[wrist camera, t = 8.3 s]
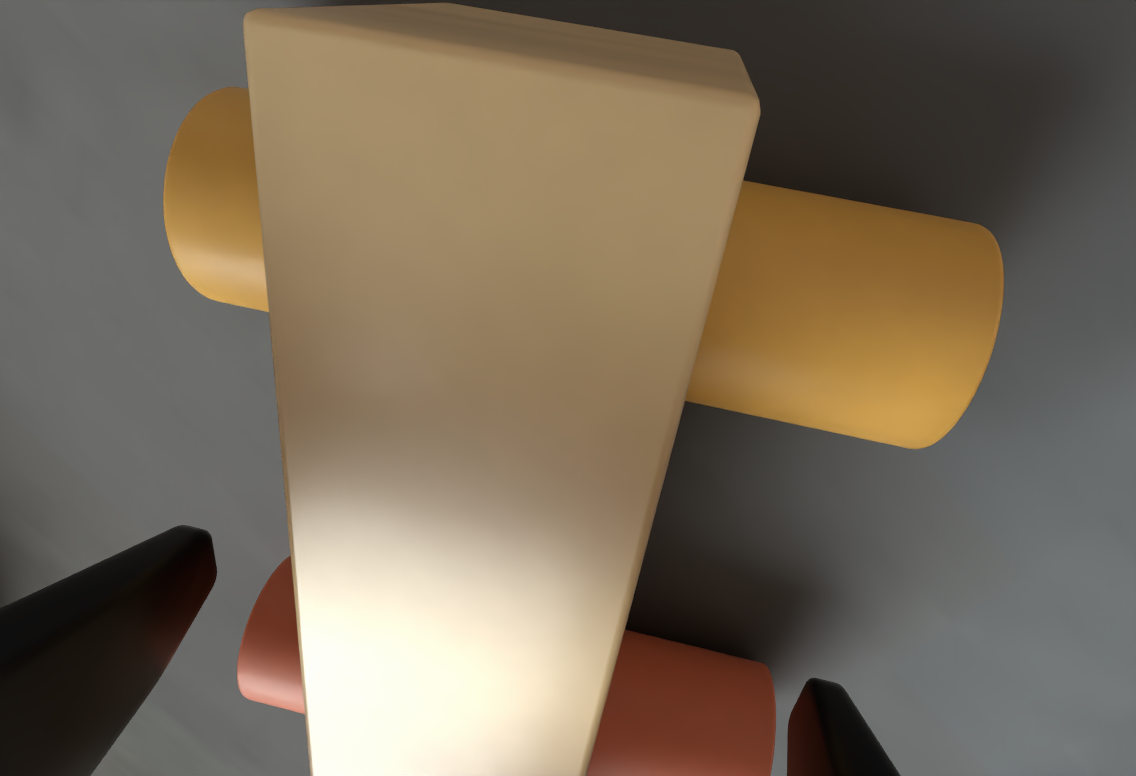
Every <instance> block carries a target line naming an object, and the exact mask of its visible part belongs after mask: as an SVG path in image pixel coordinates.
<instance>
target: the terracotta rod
mask: <svg viewBox="0 0 1136 776" xmlns="http://www.w3.org/2000/svg"><path fill="white" fill-rule="evenodd" d="M237 679H238V685H239V689H240V691H241V693H242V694H243V695H244V696H245V697H246V698H248V699H250V700H254V701H257V702H261V703H265V704H269V705H273V706H276V707H280V708H284V709H288V710H292V711H295V712H299V713H303V714H305V709H304V697H303V686H302V675H301V664H300V653H299V642H298V631H297V620H296V609H295V597H294V586H293V575H292V564H291V556H289V557H288V558H287V559H285V560H284V561H283V562H282V563H281V564H280V565H279V566H278V567H277V569H276V570H275V571H274V572H273V574H272V575H271V577H270V578H269V579H268V581H267V583H266V584H265V586H264V588H263V589H262V591H261V593H260V595H259V597H258V599H257V601H256V603H255V605H254V607H253V610H252V612H251V614H250V617H249V620H248V622H247V625H246V628H245V631H244V635H243V638H242V642H241V646H240V651H239V657H238V665H237ZM775 731H776V703H775V692H774V685H773V680H772V676H771V673H770V671H769V669H768V667H767V666H766V665H765V664H763V663H761V662H757V661H752V660H748V659H744V658H740V657H736V656H732V655H728V654H724V653H719V652H715V651H711V650H707V649H703V648H699V647H695V646H691V645H686V644H682V643H678V642H674V641H670V640H666V639H662V638H658V637H654V636H649V635H645V634H641V633H637V632H633V631H629V630H625V631H624V634H623V638H622V642H621V646H620V650H619V653H618V657H617V661H616V665H615V669H614V672H613V676H612V680H611V684H610V688H609V691H608V695H607V699H606V703H605V707H604V710H603V714H602V718H601V722H600V726H599V729H598V733H597V737H596V741H595V745H594V748H593V752H592V756H591V760H590V764H589V767H588V771H587V775H586V776H770V775H771V769H772V762H773V755H774V745H775Z"/></svg>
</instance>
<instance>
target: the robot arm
mask: <svg viewBox="0 0 1136 776" xmlns="http://www.w3.org/2000/svg"><path fill="white" fill-rule="evenodd" d="M216 576H217V567H216V561H215V555H214V548H213V542H212V537H211V535H210V534H209V532H208V531H206V530H203V529H199V528H195V527H191V526H186V525H180V526H177V527H174V528H172V529H170V530H167V531H165V532H163V533H161V534H159V535H157V536H155V537H152V538H150V539H148V540H146V541H144V542H142V543H140V544H137V545H135V546H133V547H131V548H129V549H127V550H125V551H122V552H120V553H118V554H116V555H114V556H112V557H110V558H107V559H105V560H103V561H101V562H99V563H97V564H95V565H92V566H90V567H88V568H86V569H84V570H82V571H80V572H77V573H75V574H73V575H71V576H69V577H67V578H65V579H62V580H60V581H58V582H56V583H54V584H52V585H50V586H47V587H45V588H43V589H41V590H39V591H37V592H35V593H32V594H30V595H28V596H26V597H24V598H22V599H19V600H17V601H15V602H13V603H11V604H9V605H7V606H4V607H2V608H0V776H90V775H91V774H92V773H93V771H94V770H95V769H96V767H97V766H98V764H99V763H100V762H101V760H102V759H103V757H104V756H105V755H106V753H107V752H108V750H109V749H110V748H111V746H112V745H113V744H114V742H115V741H116V739H117V738H118V737H119V735H120V734H121V732H122V731H123V730H124V728H125V727H126V725H127V724H128V723H129V721H130V720H131V718H132V717H133V716H134V714H135V713H136V712H137V710H138V709H139V707H140V706H141V705H142V703H143V702H144V700H145V699H146V698H147V696H148V695H149V693H150V692H151V690H152V689H153V687H154V686H155V685H156V683H157V682H158V680H159V678H160V677H161V675H162V674H163V672H164V670H165V669H166V667H167V665H168V664H169V662H170V660H171V658H172V657H173V655H174V653H175V652H176V650H177V648H178V646H179V645H180V643H181V641H182V639H183V638H184V636H185V634H186V633H187V631H188V629H189V627H190V626H191V624H192V622H193V620H194V619H195V617H196V615H197V614H198V612H199V610H200V608H201V607H202V605H203V603H204V601H205V600H206V598H207V596H208V595H209V593H210V591H211V589H212V587H213V586H214V583H215V580H216ZM787 776H900V774H899V773H898V771H897V770H896V768H895V766H894V765H893V763H892V762H891V760H890V759H889V757H888V756H887V754H886V753H885V751H884V749H883V748H882V746H881V745H880V743H879V742H878V740H877V739H876V737H875V736H874V734H873V732H872V731H871V729H870V728H869V726H868V725H867V723H866V722H865V720H864V718H863V717H862V715H861V714H860V712H859V711H858V709H857V708H856V706H855V705H854V703H853V701H852V700H851V698H850V697H849V695H848V694H847V692H846V691H845V689H844V688H843V687H842V686H841V685H839V684H837V683H834V682H830V681H826V680H822V679H818V678H811V679H809V680H808V681H807V682H806V684H805V686H804V688H803V690H802V692H801V694H800V696H799V698H798V700H797V702H796V704H795V706H794V708H793V710H792V712H791V715H790V718H789V724H788V752H787Z"/></svg>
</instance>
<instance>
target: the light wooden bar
mask: <svg viewBox="0 0 1136 776" xmlns="http://www.w3.org/2000/svg"><path fill="white" fill-rule="evenodd" d="M243 31H244V42H245V53H246V64H247V75H248V87H249V98H250V109H251V120H252V131H253V142H254V153H255V164H256V175H257V187H258V198H259V209H260V220H261V231H262V242H263V253H264V264H265V275H266V287H267V298H268V309H269V320H270V331H271V342H272V353H273V364H274V375H275V386H276V398H277V409H278V420H279V431H280V442H281V453H282V464H283V475H284V486H285V498H286V509H287V520H288V531H289V542H290V553H291V564H292V575H293V586H294V597H295V609H296V620H297V631H298V642H299V653H300V664H301V675H302V686H303V697H304V709H305V720H306V731H307V742H308V753H309V764H310V775H311V776H586V775H587V771H588V767H589V764H590V760H591V756H592V752H593V748H594V745H595V741H596V737H597V733H598V729H599V726H600V722H601V718H602V714H603V710H604V707H605V703H606V699H607V695H608V691H609V688H610V684H611V680H612V676H613V672H614V669H615V665H616V661H617V657H618V653H619V650H620V646H621V642H622V638H623V634H624V631H625V627H626V623H627V619H628V615H629V612H630V608H631V604H632V600H633V596H634V593H635V589H636V585H637V581H638V577H639V574H640V570H641V566H642V562H643V558H644V555H645V551H646V547H647V543H648V539H649V536H650V532H651V528H652V524H653V520H654V517H655V513H656V509H657V505H658V501H659V498H660V494H661V490H662V486H663V482H664V479H665V475H666V471H667V467H668V463H669V460H670V456H671V452H672V448H673V444H674V441H675V437H676V433H677V429H678V425H679V422H680V418H681V414H682V410H683V406H684V403H685V399H686V395H687V391H688V387H689V384H690V380H691V376H692V372H693V368H694V365H695V361H696V357H697V353H698V349H699V346H700V342H701V338H702V334H703V330H704V327H705V323H706V319H707V315H708V311H709V308H710V304H711V300H712V296H713V292H714V289H715V285H716V281H717V277H718V273H719V270H720V266H721V262H722V258H723V254H724V251H725V247H726V243H727V239H728V235H729V232H730V228H731V224H732V220H733V216H734V213H735V209H736V205H737V201H738V197H739V194H740V190H741V186H742V182H743V178H744V175H745V171H746V167H747V163H748V160H749V156H750V152H751V148H752V144H753V141H754V137H755V133H756V129H757V125H758V122H759V118H760V114H761V111H760V102H759V98H758V96H757V94H756V91H755V89H754V87H753V85H752V82H751V80H750V78H749V75H748V73H747V71H746V68H745V66H744V64H743V61H742V59H741V57H740V55H739V54H738V53H737V52H735V51H734V50H729V49H723V48H717V47H711V46H705V45H699V44H693V43H687V42H681V41H675V40H669V39H663V38H657V37H651V36H645V35H639V34H633V33H627V32H621V31H615V30H609V29H603V28H597V27H591V26H585V25H579V24H573V23H567V22H561V21H555V20H549V19H543V18H537V17H531V16H525V15H519V14H513V13H507V12H501V11H495V10H489V9H483V8H477V7H471V6H465V5H459V4H453V3H418V4H387V5H355V6H323V7H291V8H259V9H255V10H252V11H249V12H247V13H246V14H245V17H244V22H243Z"/></svg>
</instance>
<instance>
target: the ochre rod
mask: <svg viewBox="0 0 1136 776" xmlns="http://www.w3.org/2000/svg"><path fill="white" fill-rule="evenodd" d="M163 204H164V220H165V228H166V233H167V238H168V242H169V245H170V248H171V252H172V255H173V257H174V259H175V261H176V264H177V266H178V268H179V269H180V271H181V273H182V274H183V276H184V277H185V279H186V280H187V281H188V282H189V283H190V285H191V286H192V287H194V288H195V289H196V290H197V291H198V292H200V293H201V294H203V295H204V296H206V297H208V298H210V299H213V300H215V301H219V302H224V303H229V304H233V305H238V306H243V307H247V308H252V309H257V310H262V311H266V312H269V309H268V298H267V287H266V275H265V264H264V253H263V242H262V231H261V220H260V209H259V198H258V187H257V175H256V164H255V153H254V142H253V131H252V120H251V109H250V98H249V89H246V88H240V87H226V88H223V89H220V90H217V91H214V92H212V93H210V94H208V95H207V96H205V97H204V98H203V99H201V100H200V101H199V102H198V103H197V104H196V105H195V106H194V107H193V108H192V109H191V111H190V112H189V113H188V115H187V116H186V118H185V119H184V121H183V122H182V124H181V126H180V128H179V130H178V132H177V134H176V137H175V139H174V142H173V145H172V148H171V151H170V155H169V159H168V162H167V167H166V174H165V180H164V194H163ZM1003 294H1004V271H1003V262H1002V256H1001V252H1000V249H999V245H998V243H997V241H996V239H995V237H994V236H993V235H992V233H991V232H990V231H989V230H987V229H986V228H985V227H983V226H981V225H980V224H976V223H971V222H966V221H960V220H955V219H949V218H944V217H939V216H933V215H928V214H922V213H917V212H911V211H906V210H901V209H895V208H890V207H884V206H879V205H874V204H868V203H863V202H857V201H852V200H847V199H841V198H836V197H830V196H825V195H820V194H814V193H809V192H803V191H798V190H792V189H787V188H782V187H776V186H771V185H765V184H760V183H755V182H749V181H744V180H743V182H742V186H741V190H740V194H739V197H738V201H737V205H736V209H735V213H734V216H733V220H732V224H731V228H730V232H729V235H728V239H727V243H726V247H725V251H724V254H723V258H722V262H721V266H720V270H719V273H718V277H717V281H716V285H715V289H714V292H713V296H712V300H711V304H710V308H709V311H708V315H707V319H706V323H705V327H704V330H703V334H702V338H701V342H700V346H699V349H698V353H697V357H696V361H695V365H694V368H693V372H692V376H691V380H690V384H689V387H688V391H687V395H686V399H685V401H689V402H693V403H698V404H703V405H707V406H712V407H717V408H722V409H726V410H731V411H736V412H740V413H745V414H750V415H754V416H759V417H764V418H768V419H773V420H778V421H783V422H787V423H792V424H797V425H801V426H806V427H811V428H815V429H820V430H825V431H829V432H834V433H839V434H844V435H848V436H853V437H858V438H862V439H867V440H872V441H876V442H881V443H886V444H890V445H895V446H900V447H905V448H909V449H919V448H924V447H928V446H930V445H932V444H934V443H936V442H937V441H939V440H940V439H941V438H943V437H944V436H945V435H946V434H947V433H948V432H949V431H950V430H951V429H952V428H953V427H954V425H955V424H956V423H957V422H958V420H959V419H960V418H961V416H962V415H963V413H964V412H965V410H966V409H967V407H968V405H969V404H970V402H971V400H972V398H973V396H974V395H975V393H976V391H977V389H978V386H979V384H980V382H981V380H982V378H983V375H984V373H985V370H986V368H987V365H988V363H989V360H990V357H991V353H992V350H993V347H994V344H995V340H996V336H997V332H998V328H999V323H1000V317H1001V312H1002V304H1003Z"/></svg>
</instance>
